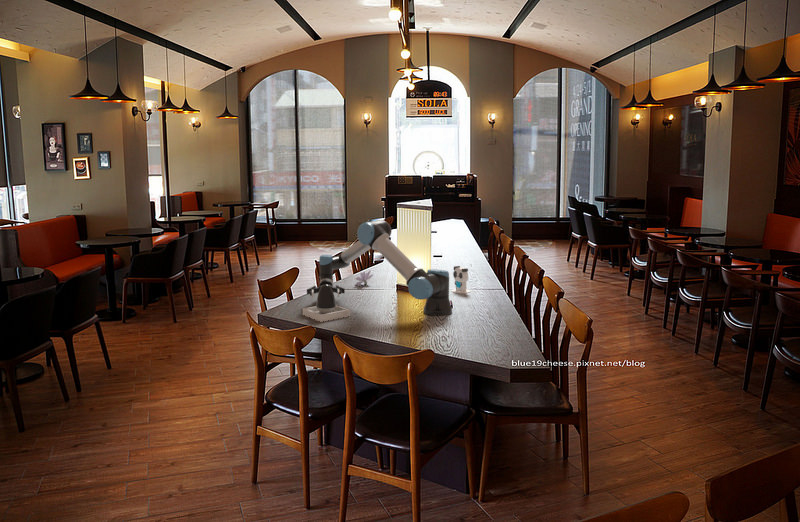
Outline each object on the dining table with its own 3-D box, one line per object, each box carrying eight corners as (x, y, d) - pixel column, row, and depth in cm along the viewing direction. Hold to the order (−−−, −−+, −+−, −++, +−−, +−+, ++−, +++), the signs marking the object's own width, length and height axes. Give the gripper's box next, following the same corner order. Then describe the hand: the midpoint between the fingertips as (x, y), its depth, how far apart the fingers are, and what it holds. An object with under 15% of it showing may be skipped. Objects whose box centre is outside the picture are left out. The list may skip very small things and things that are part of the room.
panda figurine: (447, 290, 390) (448, 266, 387) (463, 288, 395) (464, 264, 392) (457, 294, 379) (457, 269, 377) (473, 292, 384) (474, 268, 381)
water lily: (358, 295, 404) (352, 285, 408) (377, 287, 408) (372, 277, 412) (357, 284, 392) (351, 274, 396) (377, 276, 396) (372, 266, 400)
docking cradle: (350, 316, 329) (350, 309, 329) (321, 322, 318) (320, 315, 318) (331, 309, 343) (331, 303, 343) (302, 315, 332) (302, 308, 331)
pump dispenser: (336, 310, 336) (336, 282, 333) (335, 315, 326) (334, 286, 323) (317, 310, 336) (316, 282, 333) (315, 315, 325) (314, 286, 323)
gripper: (348, 291, 354) (349, 300, 333) (303, 292, 352) (301, 302, 331) (348, 278, 353) (349, 287, 332) (303, 279, 350) (301, 288, 330)
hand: (325, 294), depth 331 cm, fingers open, 13 cm apart
